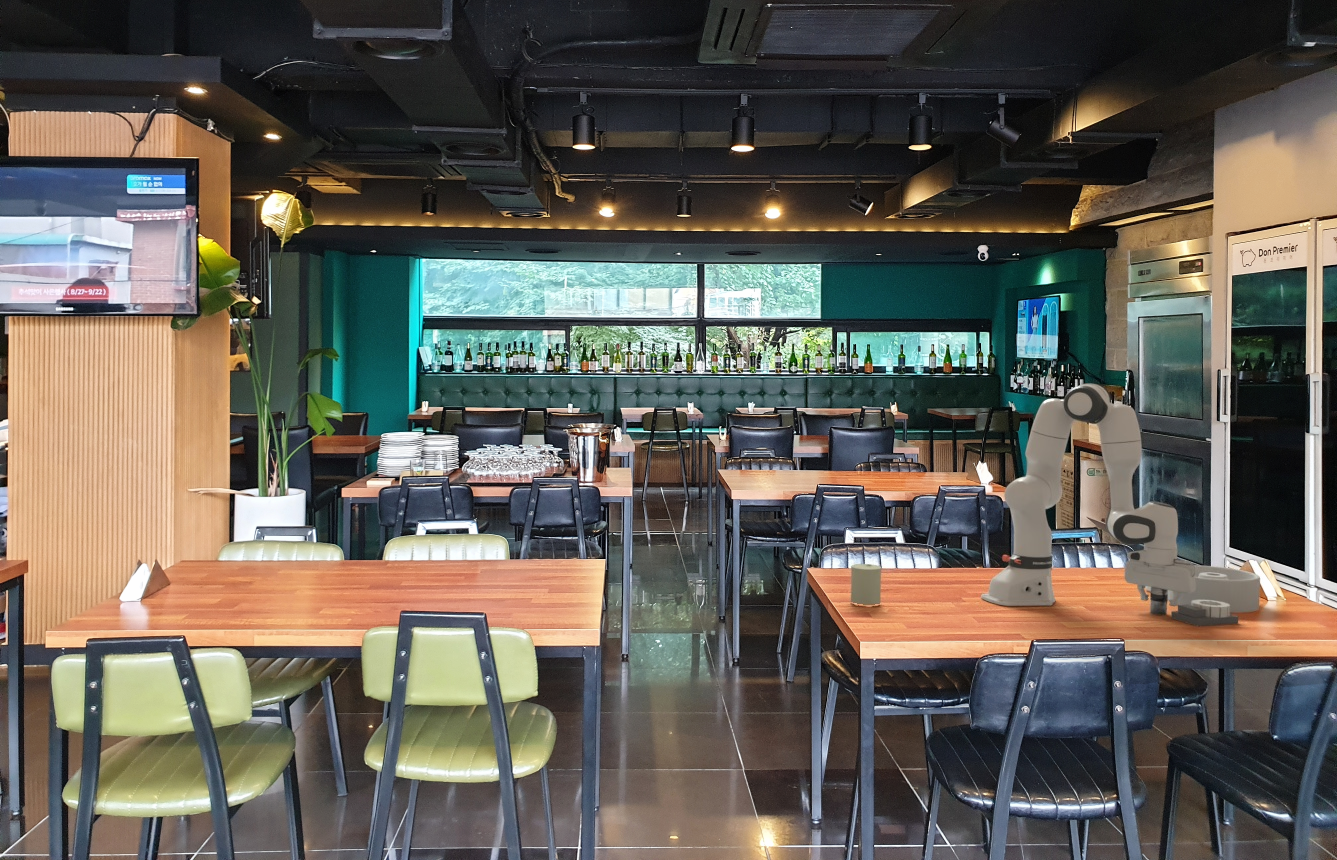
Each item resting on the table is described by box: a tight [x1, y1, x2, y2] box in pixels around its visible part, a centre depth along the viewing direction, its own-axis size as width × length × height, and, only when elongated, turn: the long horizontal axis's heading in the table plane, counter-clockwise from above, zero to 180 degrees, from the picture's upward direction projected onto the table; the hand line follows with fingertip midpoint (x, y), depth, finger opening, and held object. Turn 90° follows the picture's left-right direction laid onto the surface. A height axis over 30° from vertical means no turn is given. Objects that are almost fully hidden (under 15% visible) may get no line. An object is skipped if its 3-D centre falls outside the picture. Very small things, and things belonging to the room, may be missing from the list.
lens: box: [1149, 587, 1169, 616], centre depth 295 cm, size 5×5×8 cm
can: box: [850, 563, 882, 605], centre depth 305 cm, size 9×9×12 cm
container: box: [1167, 564, 1261, 614], centre depth 310 cm, size 25×25×10 cm
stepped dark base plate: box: [1170, 600, 1239, 627], centre depth 287 cm, size 14×10×5 cm
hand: (1158, 603), depth 295 cm, fingers open, 7 cm apart
